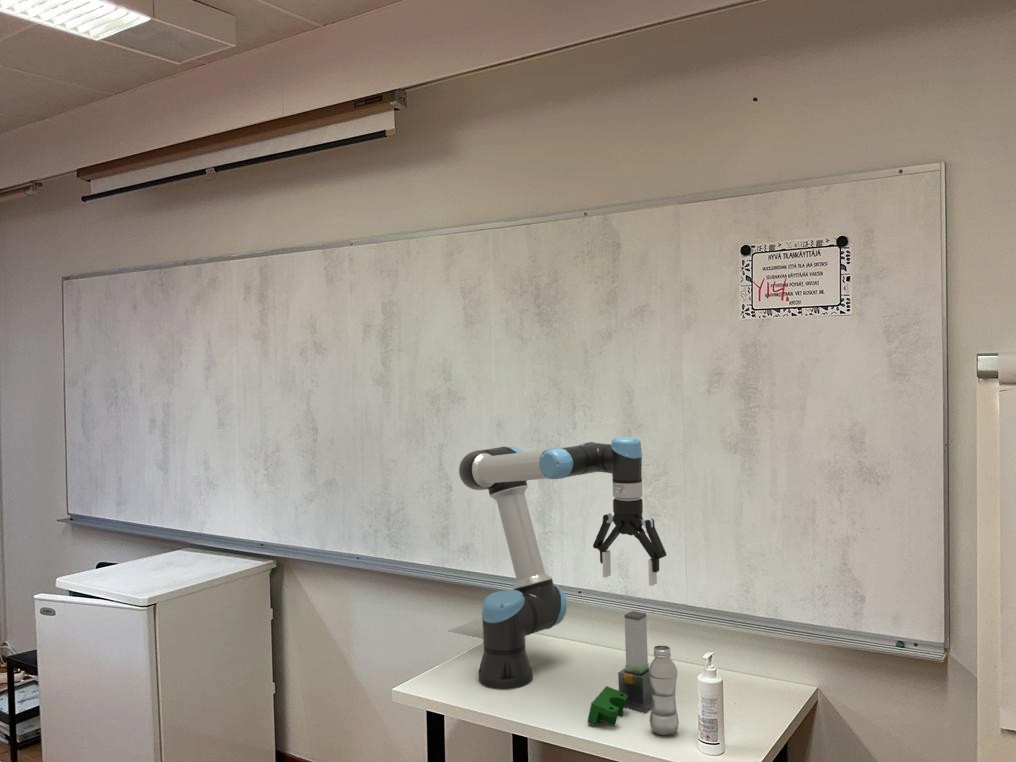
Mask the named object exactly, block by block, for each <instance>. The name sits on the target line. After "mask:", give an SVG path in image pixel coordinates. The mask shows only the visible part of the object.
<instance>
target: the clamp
mask: <svg viewBox="0 0 1016 762" xmlns="http://www.w3.org/2000/svg"><path fill="white" fill-rule="evenodd" d="M627 697H628V696H627V695H626V694H625V693H623V692H620V691H619V689H618V690H617V689H615V688H613V687H610V686H605V687H604V688H603V689H602V691H601V692H600V693H599V694H598V695H597V696H596V697H595V699H594V700H593V701H591V703H590V708H589V713H588V717H587V718H588V719H587V724H590V725H593V726H594V727H597V726H598V725H599V724H600V722H601V721H602V722H603V723H607V724H609V725H612V726H614V725H615V724H617V720H618V719H617V718H618V717H619V716H620V717H619V718H622V717H623V711H624V709H625V708H624V705H625V703H626V701H627ZM597 724H598V725H597ZM596 725H597V726H596ZM615 726H616V725H615Z"/></svg>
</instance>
